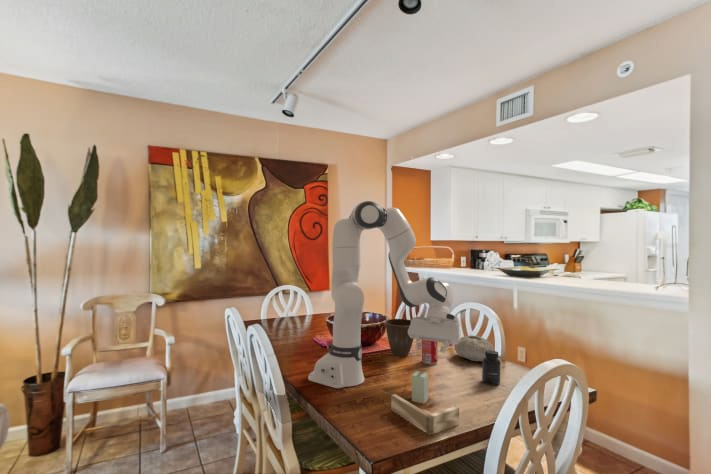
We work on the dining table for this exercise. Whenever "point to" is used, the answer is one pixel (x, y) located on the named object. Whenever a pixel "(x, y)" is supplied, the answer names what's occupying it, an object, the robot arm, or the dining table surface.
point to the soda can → (429, 352)
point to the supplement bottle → (491, 368)
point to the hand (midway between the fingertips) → (430, 349)
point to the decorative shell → (473, 347)
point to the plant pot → (399, 336)
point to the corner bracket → (425, 416)
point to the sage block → (420, 387)
